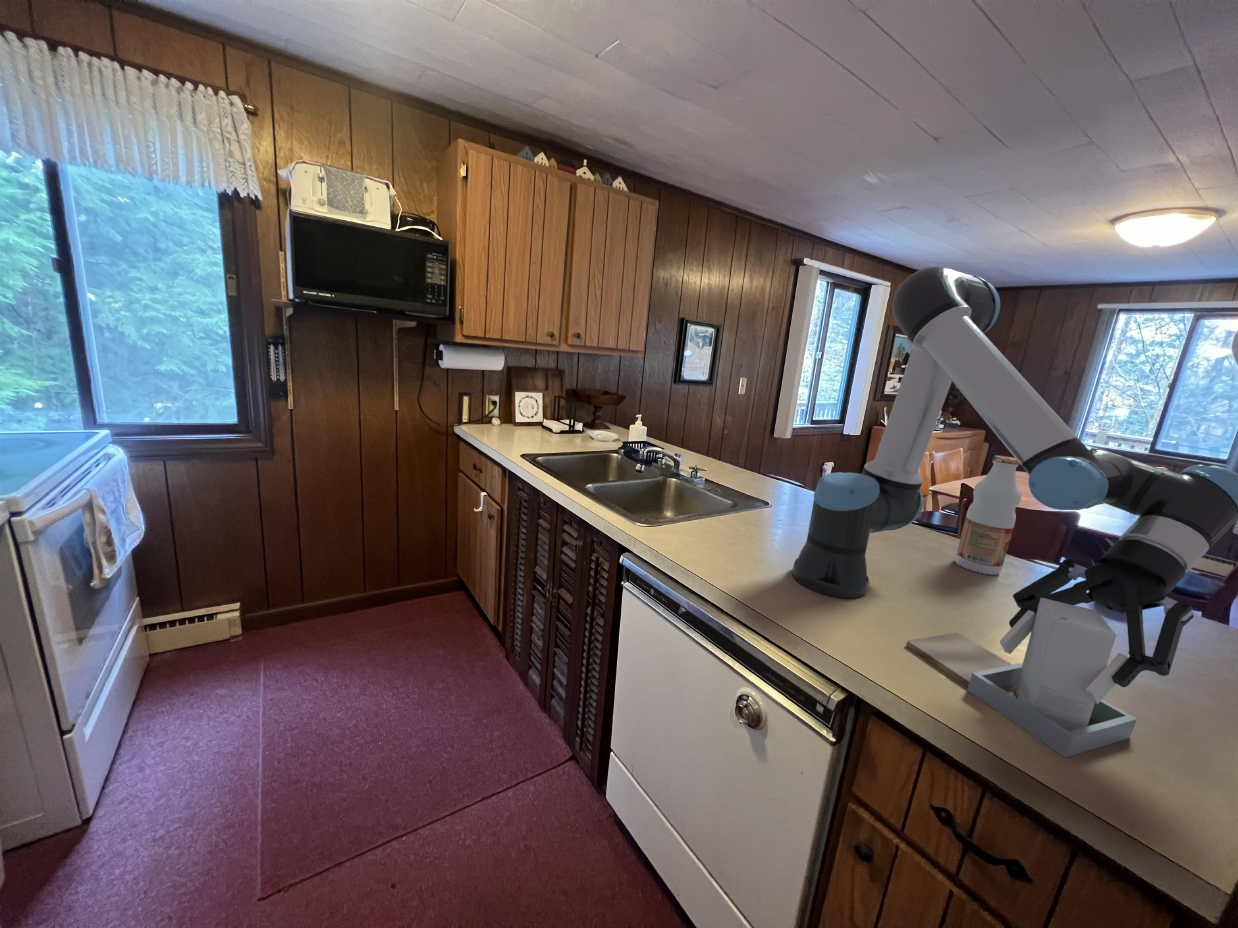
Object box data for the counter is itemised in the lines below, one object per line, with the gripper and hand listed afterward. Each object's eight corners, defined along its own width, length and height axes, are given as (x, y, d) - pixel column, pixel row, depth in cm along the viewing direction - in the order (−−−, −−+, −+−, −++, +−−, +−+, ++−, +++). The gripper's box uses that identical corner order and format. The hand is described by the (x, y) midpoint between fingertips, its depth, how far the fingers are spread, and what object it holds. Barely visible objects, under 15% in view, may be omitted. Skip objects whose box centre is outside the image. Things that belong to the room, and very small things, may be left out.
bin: (966, 690, 72) (972, 672, 72) (1027, 677, 77) (1032, 660, 76) (1065, 757, 61) (1072, 737, 60) (1130, 737, 65) (1137, 718, 65)
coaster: (906, 645, 83) (907, 640, 83) (956, 637, 87) (957, 632, 87) (969, 688, 73) (971, 682, 72) (1022, 677, 77) (1024, 671, 76)
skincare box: (1083, 742, 64) (1121, 637, 60) (1019, 719, 67) (1052, 618, 63) (1067, 706, 71) (1101, 609, 67) (1010, 687, 74) (1039, 594, 70)
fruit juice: (946, 557, 125) (973, 451, 119) (985, 561, 125) (1014, 455, 118) (968, 573, 116) (998, 459, 110) (1009, 578, 115) (1043, 464, 109)
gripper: (1278, 613, 59) (1159, 746, 57) (1064, 541, 79) (972, 638, 78) (1273, 576, 56) (1148, 716, 54) (1052, 512, 76) (956, 611, 75)
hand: (1044, 670), depth 66 cm, fingers closed on skincare box, 10 cm apart
